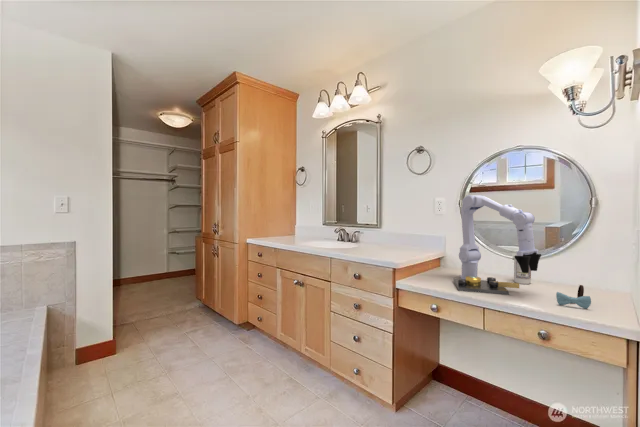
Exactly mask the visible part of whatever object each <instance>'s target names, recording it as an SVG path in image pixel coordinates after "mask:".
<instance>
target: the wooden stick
mask: <svg viewBox="0 0 640 427" xmlns="http://www.w3.org/2000/svg"><path fill="white" fill-rule="evenodd" d="M497 281H498V280H496V281H489V286H491V287H505V288H506V289H507V288H509V289H520V283H516V282H510V281H509V282H508V281H507V282H506V281H498V282H497Z"/></svg>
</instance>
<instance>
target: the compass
mask: <svg viewBox="0 0 640 427" xmlns="http://www.w3.org/2000/svg"><path fill="white" fill-rule="evenodd" d="M584 293H585V288H584V285H582V284H579V285H578V289H577V293H576V294H577V295H576V296H577V297H576V298H578V297H582V296H584ZM569 297H570V298H571V297H572V296H569Z"/></svg>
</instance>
